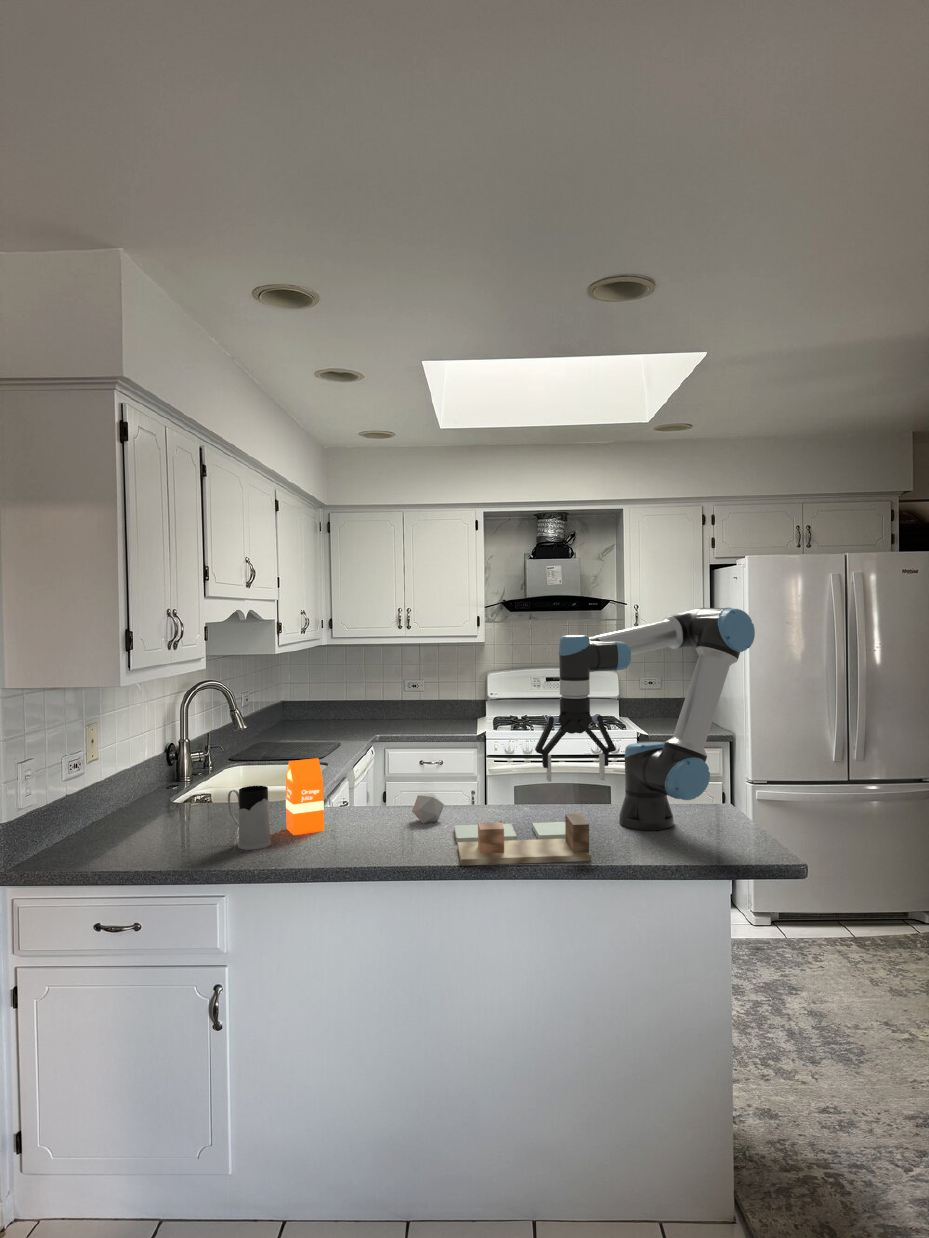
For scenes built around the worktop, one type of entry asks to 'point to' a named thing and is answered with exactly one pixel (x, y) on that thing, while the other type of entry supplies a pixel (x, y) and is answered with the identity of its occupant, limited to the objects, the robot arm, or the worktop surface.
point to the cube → (491, 837)
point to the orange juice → (304, 797)
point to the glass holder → (252, 817)
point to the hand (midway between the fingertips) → (575, 779)
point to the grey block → (427, 808)
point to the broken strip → (512, 831)
